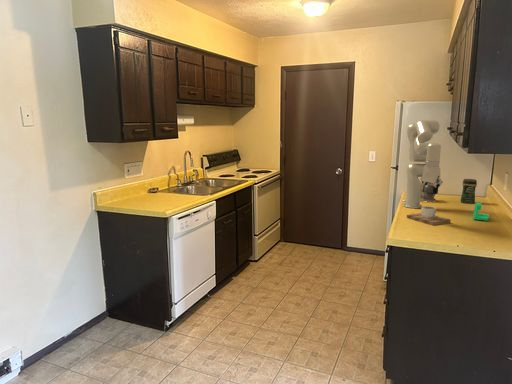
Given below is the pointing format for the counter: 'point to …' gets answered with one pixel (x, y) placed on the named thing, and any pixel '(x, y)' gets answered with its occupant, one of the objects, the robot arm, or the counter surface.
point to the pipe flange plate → (428, 216)
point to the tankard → (423, 194)
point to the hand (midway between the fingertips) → (430, 192)
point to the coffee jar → (468, 191)
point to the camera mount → (479, 215)
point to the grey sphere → (429, 190)
